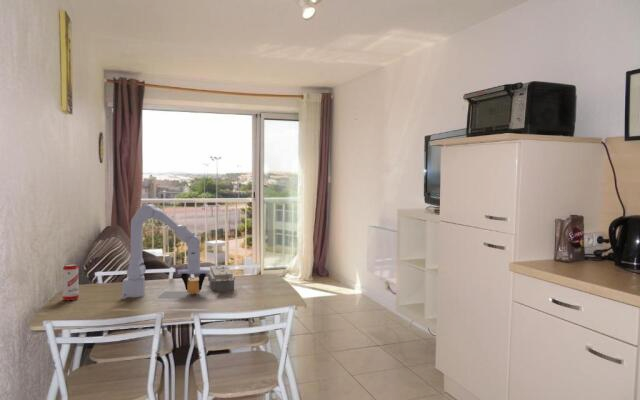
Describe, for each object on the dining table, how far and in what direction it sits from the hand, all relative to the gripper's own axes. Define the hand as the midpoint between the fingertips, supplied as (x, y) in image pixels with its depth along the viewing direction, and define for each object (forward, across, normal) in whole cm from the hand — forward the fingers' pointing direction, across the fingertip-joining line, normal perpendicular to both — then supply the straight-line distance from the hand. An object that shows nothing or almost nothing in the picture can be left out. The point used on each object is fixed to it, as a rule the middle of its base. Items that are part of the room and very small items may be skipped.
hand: (193, 289), depth 213 cm
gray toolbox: (+4, +10, +16) cm, 19 cm away
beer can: (+3, -54, -6) cm, 54 cm away
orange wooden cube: (+1, 0, 0) cm, 1 cm away
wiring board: (+3, -4, -1) cm, 5 cm away
